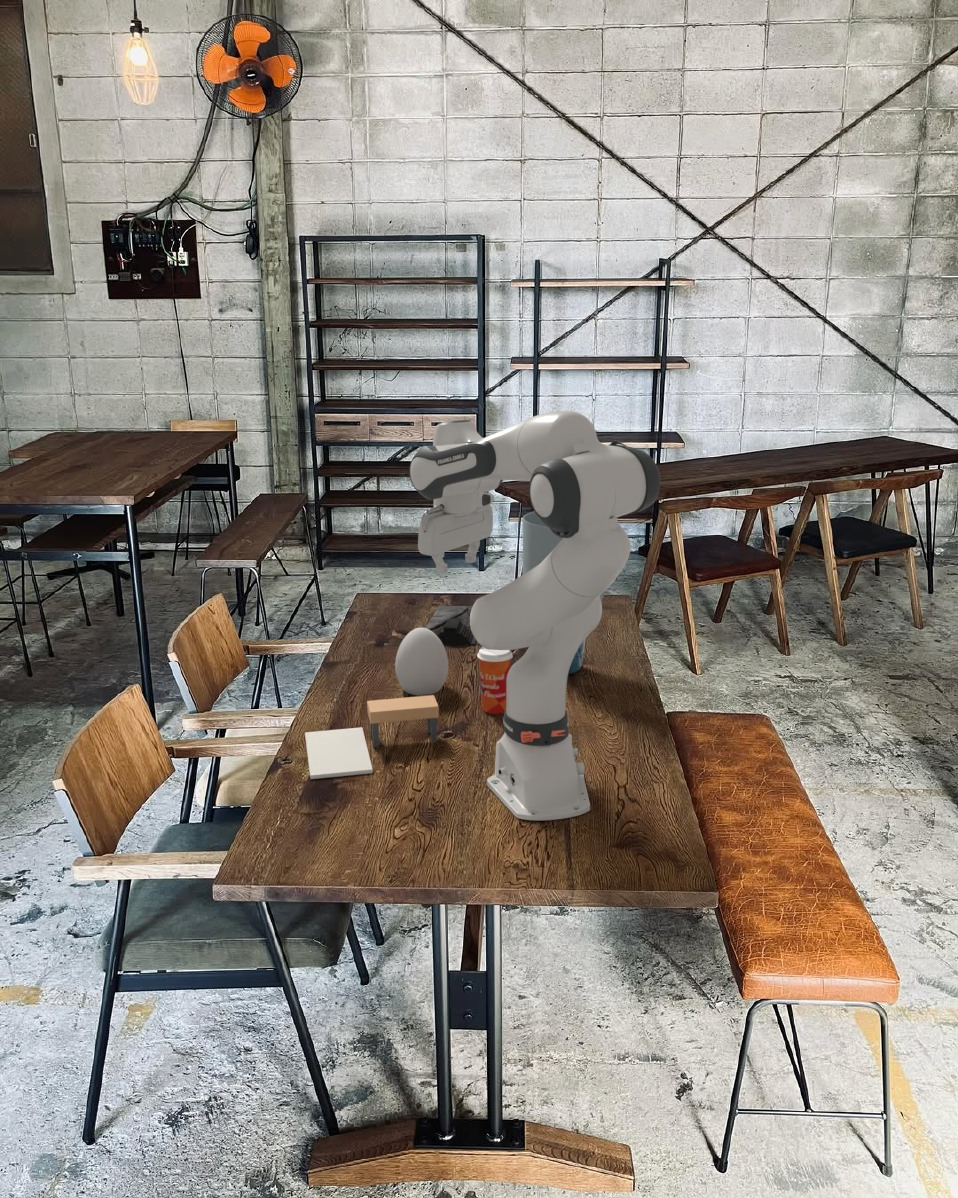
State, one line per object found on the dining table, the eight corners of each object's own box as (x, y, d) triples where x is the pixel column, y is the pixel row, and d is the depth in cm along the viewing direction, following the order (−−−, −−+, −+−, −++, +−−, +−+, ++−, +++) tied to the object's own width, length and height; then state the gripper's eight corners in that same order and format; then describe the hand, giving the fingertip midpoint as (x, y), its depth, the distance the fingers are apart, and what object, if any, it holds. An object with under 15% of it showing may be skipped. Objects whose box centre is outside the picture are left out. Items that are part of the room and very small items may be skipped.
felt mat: (372, 773, 206) (372, 769, 206) (310, 779, 204) (310, 775, 203) (362, 730, 225) (362, 727, 224) (305, 736, 222) (304, 732, 222)
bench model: (434, 730, 225) (433, 695, 222) (439, 742, 219) (438, 706, 217) (368, 736, 222) (367, 700, 219) (371, 748, 216) (370, 712, 214)
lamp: (540, 650, 270) (541, 505, 258) (612, 662, 262) (617, 513, 250) (509, 676, 253) (509, 522, 242) (584, 689, 245) (588, 531, 234)
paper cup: (471, 712, 233) (470, 652, 229) (487, 699, 240) (487, 641, 236) (503, 718, 230) (503, 658, 226) (518, 706, 236) (518, 647, 232)
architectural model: (481, 653, 274) (496, 622, 302) (483, 630, 272) (498, 602, 301) (416, 643, 276) (437, 614, 304) (418, 621, 274) (439, 593, 303)
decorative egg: (436, 676, 254) (435, 616, 250) (457, 693, 243) (456, 632, 239) (388, 684, 249) (386, 624, 244) (407, 703, 238) (405, 640, 234)
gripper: (434, 512, 202) (436, 581, 206) (498, 493, 217) (498, 558, 222) (409, 508, 205) (411, 576, 210) (473, 490, 221) (474, 554, 225)
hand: (456, 567), depth 216 cm, fingers open, 8 cm apart
